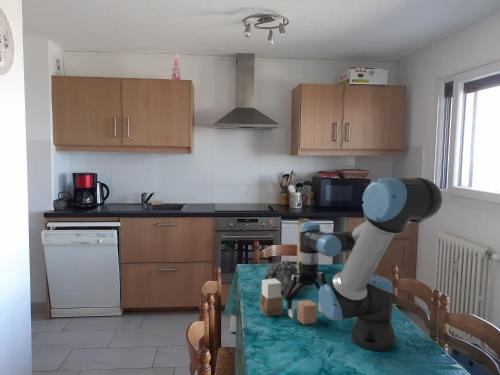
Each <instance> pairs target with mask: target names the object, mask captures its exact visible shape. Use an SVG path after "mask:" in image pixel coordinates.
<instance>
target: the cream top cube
mask: <svg viewBox="0 0 500 375" xmlns="http://www.w3.org/2000/svg"><path fill="white" fill-rule="evenodd" d="M261 294H262V295H263V296H265V297H266V298H267V299H272V298H280V297H282V291H281V282H279V281H278V280H277V279H266V278H265V279H262V280H261Z"/></svg>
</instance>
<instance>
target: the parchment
mask: <svg viewBox="0 0 500 375" xmlns="http://www.w3.org/2000/svg"><path fill="white" fill-rule="evenodd" d="M303 222H310V219H309V218H298V219H297V241H296V242H297V246H296V247H297V248H296V268H297V269H298V272H297V273H299V262H300V261H299V250H300V228H301V224H302V223H303Z"/></svg>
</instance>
